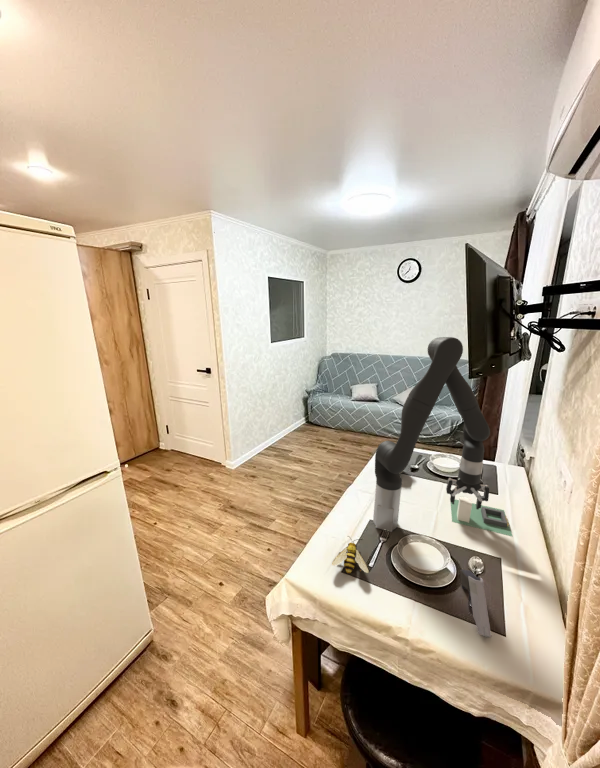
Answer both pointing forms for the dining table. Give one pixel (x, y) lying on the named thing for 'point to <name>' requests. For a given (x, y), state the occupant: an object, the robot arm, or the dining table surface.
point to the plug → (464, 509)
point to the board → (484, 518)
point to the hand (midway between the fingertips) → (464, 505)
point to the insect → (350, 558)
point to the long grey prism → (477, 601)
